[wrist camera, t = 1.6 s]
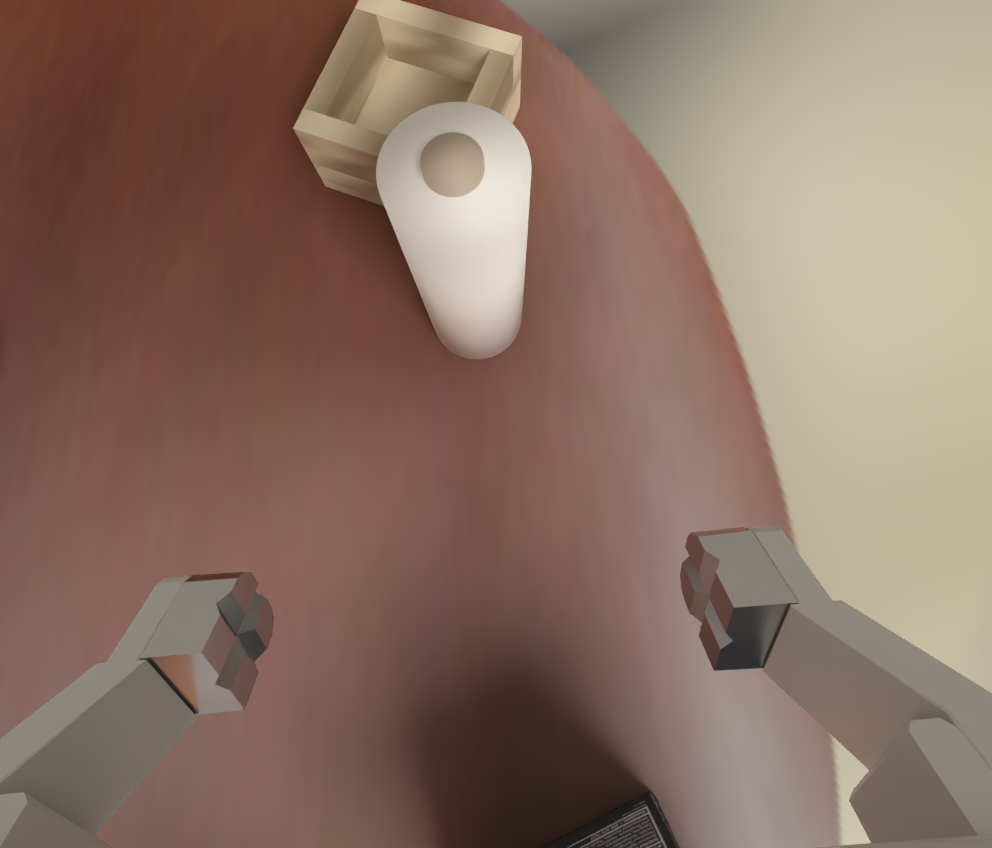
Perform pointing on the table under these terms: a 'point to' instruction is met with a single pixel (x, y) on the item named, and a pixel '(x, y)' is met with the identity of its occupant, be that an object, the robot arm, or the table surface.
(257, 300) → the table surface
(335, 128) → the open wooden box
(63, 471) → the table surface
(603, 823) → the small box
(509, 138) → the paper roll
